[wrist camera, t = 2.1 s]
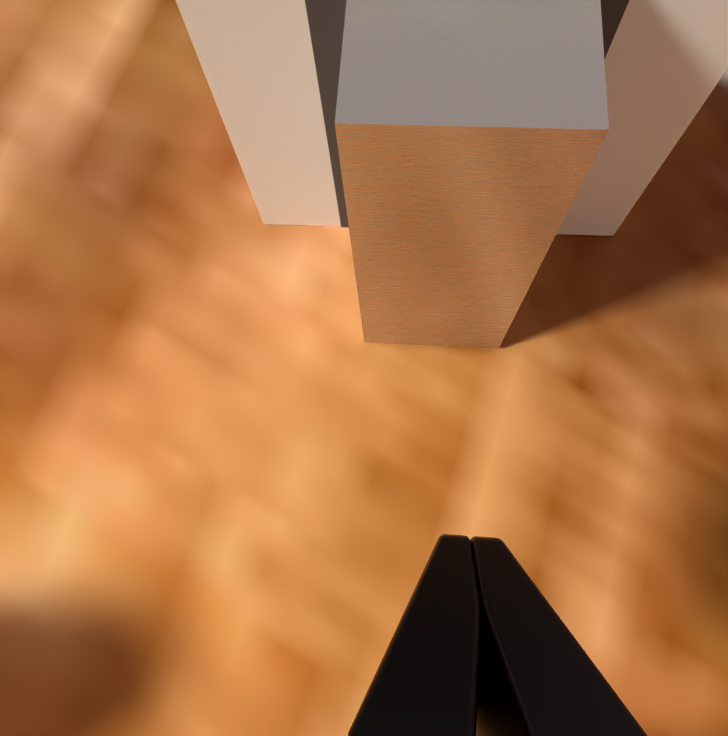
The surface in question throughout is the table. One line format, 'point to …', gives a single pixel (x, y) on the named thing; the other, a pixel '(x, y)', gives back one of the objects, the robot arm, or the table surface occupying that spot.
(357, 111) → the light grey rectangular block
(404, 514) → the table surface
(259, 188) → the housing
